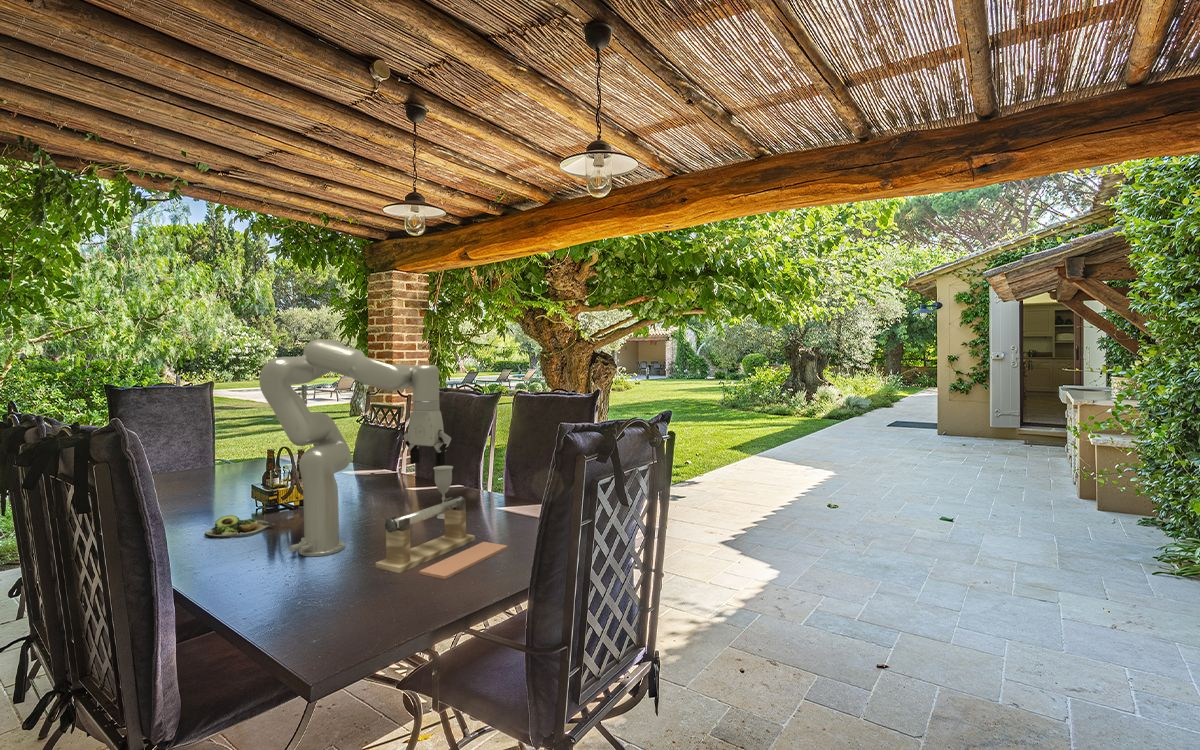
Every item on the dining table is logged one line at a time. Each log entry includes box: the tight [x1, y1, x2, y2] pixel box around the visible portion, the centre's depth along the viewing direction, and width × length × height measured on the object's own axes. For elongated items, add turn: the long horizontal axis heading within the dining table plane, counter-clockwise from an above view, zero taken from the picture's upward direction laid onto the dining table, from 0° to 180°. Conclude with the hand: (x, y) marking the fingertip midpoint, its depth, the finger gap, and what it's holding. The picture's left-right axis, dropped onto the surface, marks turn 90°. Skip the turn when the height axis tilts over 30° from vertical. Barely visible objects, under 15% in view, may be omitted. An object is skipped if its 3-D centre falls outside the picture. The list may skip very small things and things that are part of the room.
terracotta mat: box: [418, 541, 509, 580], centre depth 173 cm, size 28×9×1 cm, turn 153°
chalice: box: [432, 465, 454, 520], centre depth 218 cm, size 7×7×18 cm
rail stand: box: [375, 496, 476, 574], centre depth 179 cm, size 32×9×14 cm, turn 153°
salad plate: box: [204, 514, 276, 539], centre depth 203 cm, size 19×18×5 cm
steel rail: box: [384, 495, 465, 533], centre depth 179 cm, size 30×4×4 cm, turn 153°
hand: (427, 464), depth 178 cm, fingers open, 9 cm apart
